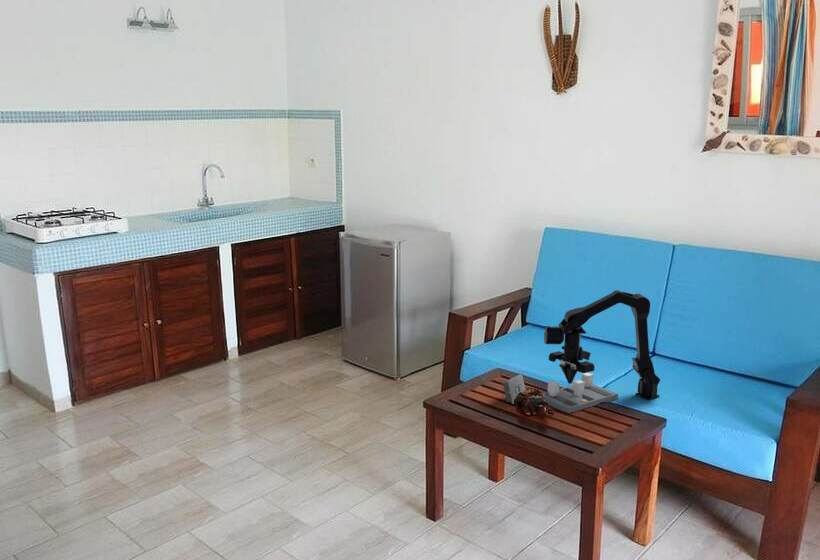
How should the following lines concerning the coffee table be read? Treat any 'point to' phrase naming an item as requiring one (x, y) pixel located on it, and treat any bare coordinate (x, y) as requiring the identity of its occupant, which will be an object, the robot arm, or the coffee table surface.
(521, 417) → the coffee table surface
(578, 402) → the breaker panel
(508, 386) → the electrical switch
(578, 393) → the breaker handle
